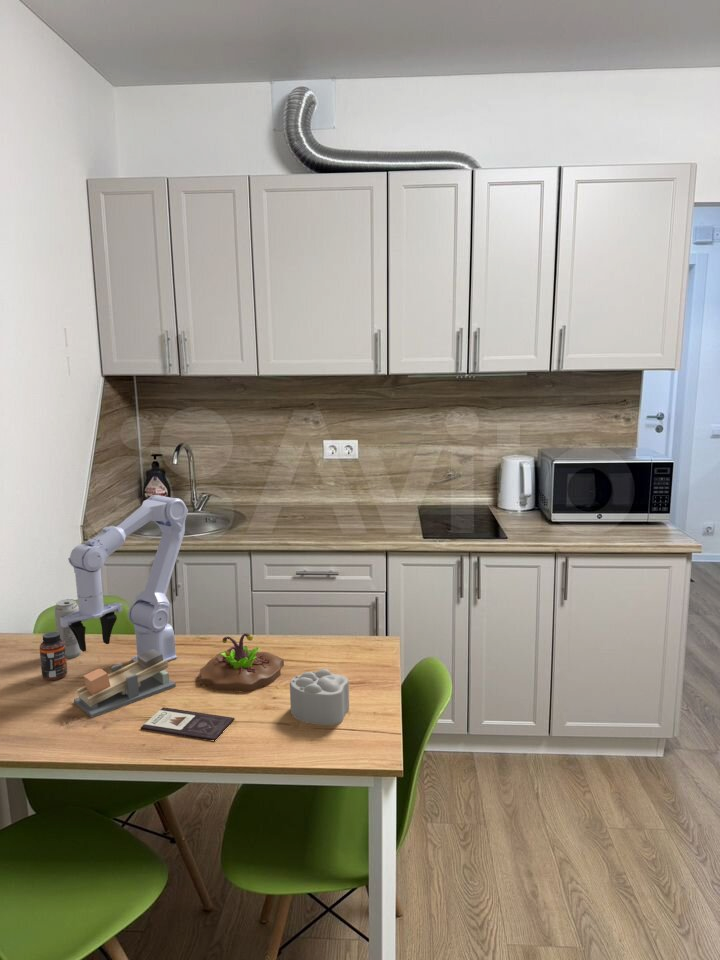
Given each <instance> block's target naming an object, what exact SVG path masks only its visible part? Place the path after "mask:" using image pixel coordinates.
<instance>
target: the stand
mask: <svg viewBox="0 0 720 960" xmlns="http://www.w3.org/2000/svg"><path fill="white" fill-rule="evenodd" d="M121 668H123V664H122V663H118V664H114V665H113V666H111V668H110V669H111V673H113V672H115V671H117V670H119V669H121ZM169 674H170V673H169V672H168V671H167V670H166V669H164V670H162V671H160V672H158V673H156V674H154V675H152V676H151V677H149V678H147V679H145V680H143V681H141V682H140V684H141V686H140V687H138V678H137V675H136V674H135V675H132V676H129V677H126V683H127V689H125V691H126V694H125V695H122V694H121V693H117V694H115V695H113V696H111V697H109V698H107V699H105V700H103V701H101V702H99V703H97V704H95V705H93V706H91V707H90V706H89V705H88V704H87V703H85V702H84V701H83V700H82V699H81V698H80V697H79V696H78V697H76V698H74V699H73V703H74V704H75V705H77V707H79V708H80V709H81V710H82V711H83V712H85V713H86V714H87V715H88V716H89V717H90V718H91V719H92V718H95V717H97V716H100V715H103V714H106V713H109V712H111V711H114V710H116V709H119V708H121V707H125V706H127V705H130V704H133V703H135V702H138V701H141V700H143V699H146V698H149V697H151V696H155V695H156V694H159V693H162V692H165V691H167V690H171V689H173V688H175V687H177V686H176V685H177V684H176V683H175V682H174V681H173V680H171V679H170V675H169Z"/></svg>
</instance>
